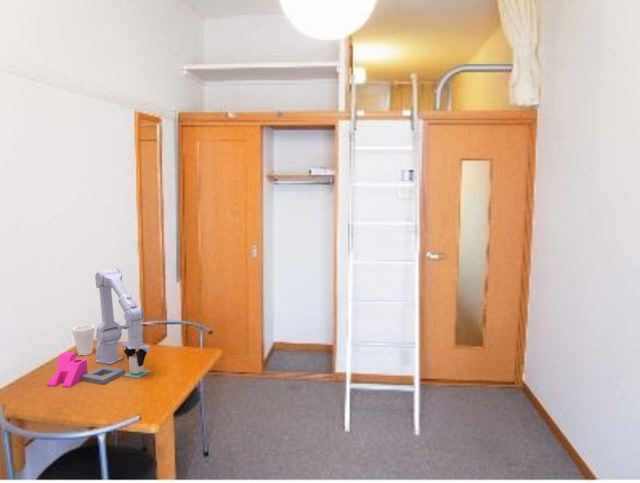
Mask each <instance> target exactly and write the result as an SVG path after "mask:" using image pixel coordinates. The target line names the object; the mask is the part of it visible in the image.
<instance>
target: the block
mask: <svg viewBox="0 0 640 483" xmlns="http://www.w3.org/2000/svg"><path fill="white" fill-rule="evenodd" d="M128 365H129V366H128V368H129V372H131V373H135V374H137V373H139V372H141V371H143V370H144V364H143V365H142V366H138V359H137V355H136V353H135V354H134V355H132V356H130V357H129V360H128Z"/></svg>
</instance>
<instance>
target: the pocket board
mask: <svg viewBox="0 0 640 483" xmlns="http://www.w3.org/2000/svg"><path fill="white" fill-rule="evenodd" d="M125 372H126V371H125V369H123V368H117V367H112V366H108V365H107V366H106V365H103V366H99V367H98V368H96V369H94V370H91V371H90V372H89V371H88V373H87V374H85V375H83V376H82V380H81V381H83V382H87V383H93V384H97V385H106V384H108V383H110V382H112V381H113V380H116V379H117V378H118V379H119V378H120V377H122V376H123V375H124V374H126V373H125Z"/></svg>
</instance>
